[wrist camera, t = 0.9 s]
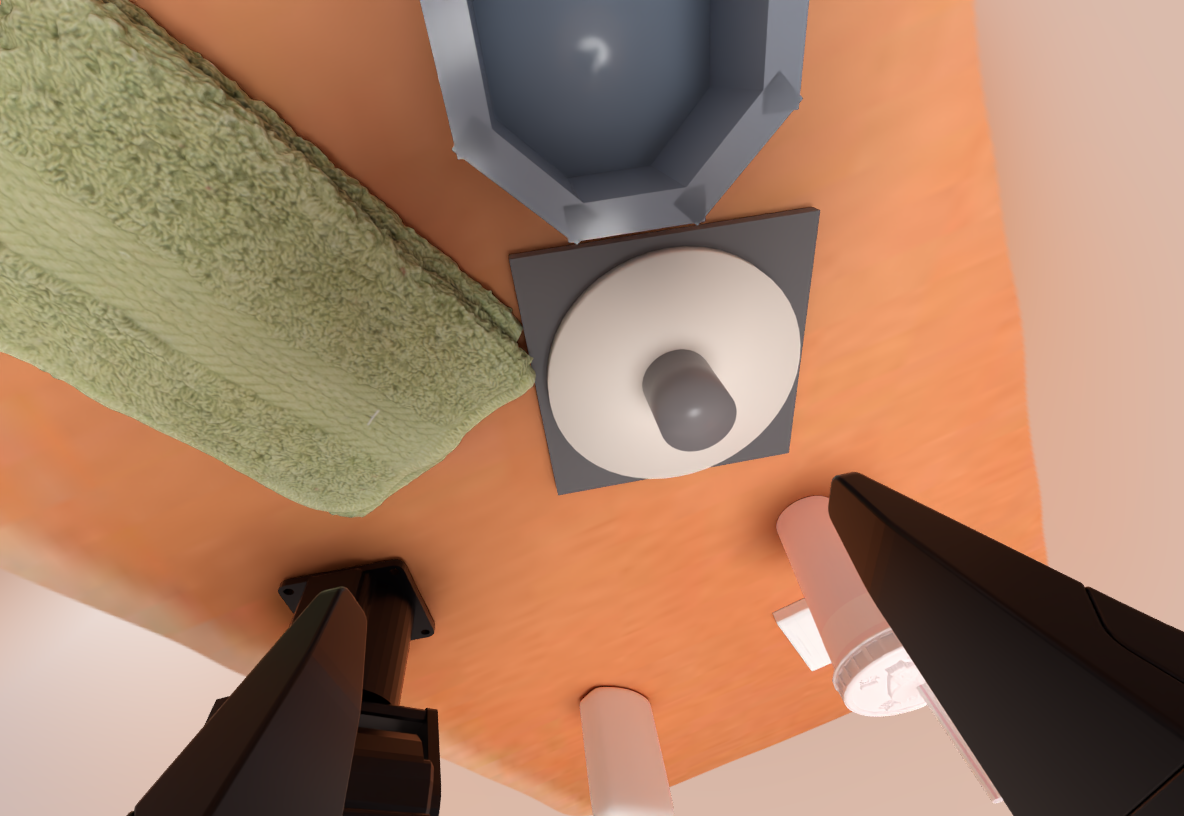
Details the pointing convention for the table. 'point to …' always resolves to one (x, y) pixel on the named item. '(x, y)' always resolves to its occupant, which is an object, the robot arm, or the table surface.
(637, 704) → the eye dropper bottle
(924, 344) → the table surface
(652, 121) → the bowl
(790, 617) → the external hard drive
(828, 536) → the smoothie
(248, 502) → the table surface
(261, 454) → the washcloth
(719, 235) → the mat
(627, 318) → the lid
